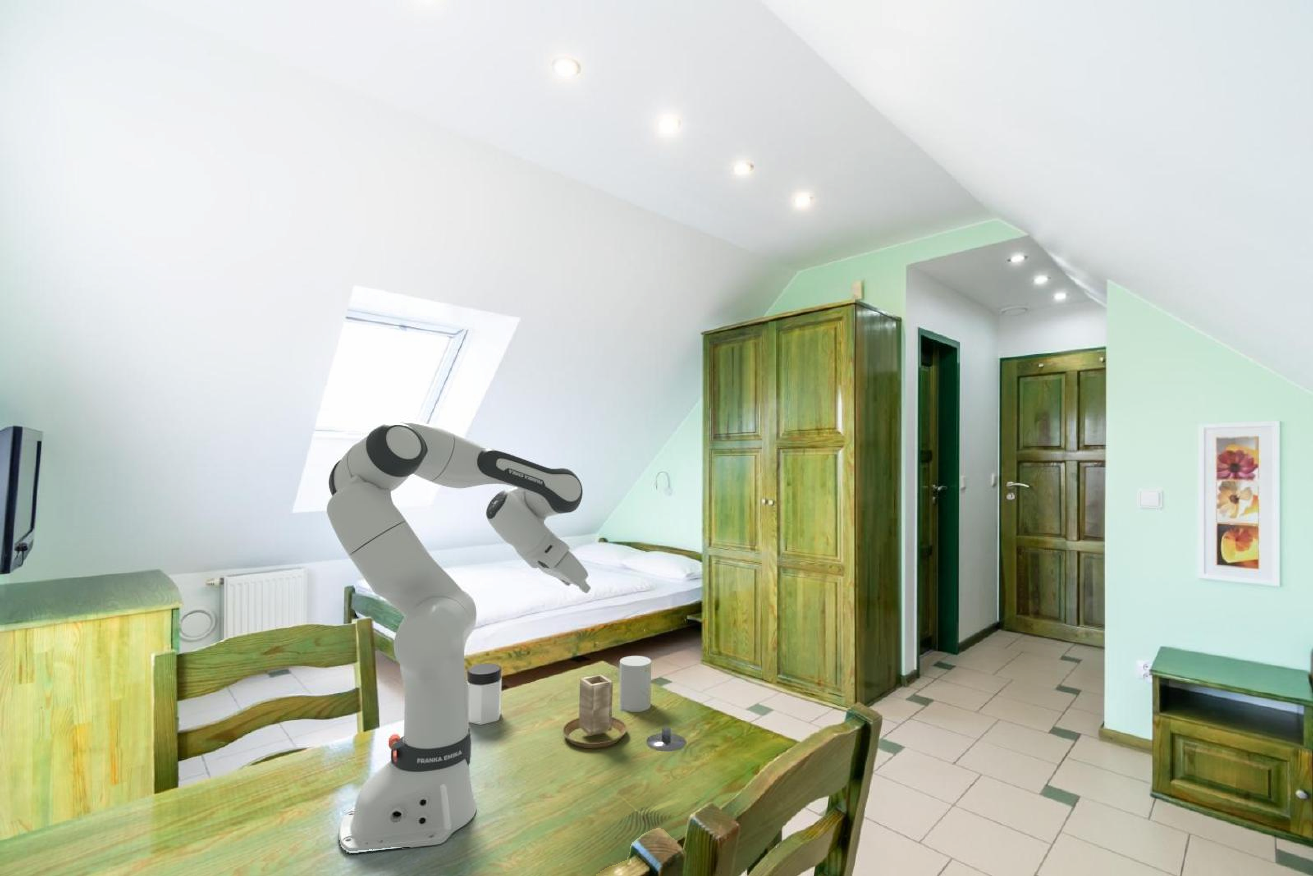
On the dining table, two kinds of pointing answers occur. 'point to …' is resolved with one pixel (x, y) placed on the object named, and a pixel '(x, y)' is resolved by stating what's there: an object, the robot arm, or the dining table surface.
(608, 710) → the vase
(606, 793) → the dining table surface
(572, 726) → the plant saucer
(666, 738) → the metal lid
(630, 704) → the white cylinder
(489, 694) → the jar
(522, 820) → the dining table surface
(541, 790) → the dining table surface
